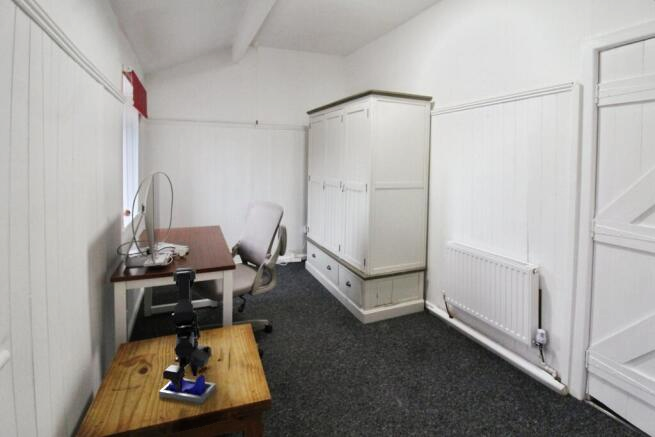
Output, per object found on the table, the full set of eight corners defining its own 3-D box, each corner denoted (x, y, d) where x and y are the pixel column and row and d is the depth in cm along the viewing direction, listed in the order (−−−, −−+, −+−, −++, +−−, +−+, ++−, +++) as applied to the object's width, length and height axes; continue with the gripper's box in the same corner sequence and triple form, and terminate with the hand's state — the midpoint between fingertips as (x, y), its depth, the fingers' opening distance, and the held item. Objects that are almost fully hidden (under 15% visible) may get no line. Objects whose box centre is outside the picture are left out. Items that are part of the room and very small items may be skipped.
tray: (159, 396, 130) (159, 391, 130) (175, 381, 139) (174, 376, 139) (202, 404, 127) (202, 398, 126) (215, 388, 135) (215, 383, 135)
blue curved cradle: (169, 391, 132) (168, 376, 131) (177, 384, 137) (176, 369, 136) (197, 398, 129) (196, 382, 128) (205, 390, 133) (204, 375, 132)
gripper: (190, 360, 119) (192, 403, 122) (219, 333, 137) (221, 372, 139) (160, 355, 121) (163, 398, 124) (193, 330, 139) (195, 368, 142)
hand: (187, 383), depth 132 cm, fingers open, 9 cm apart
